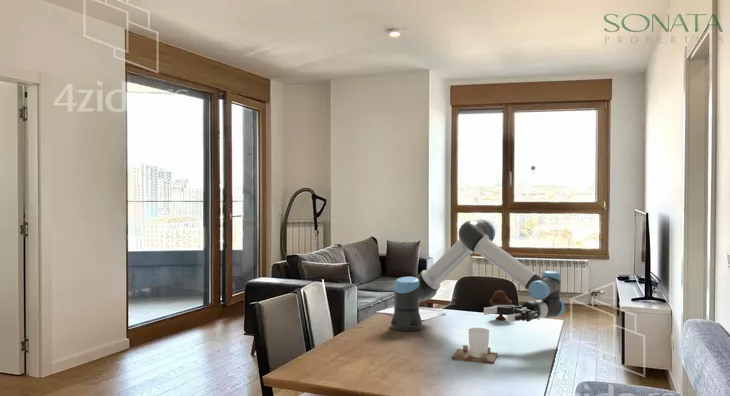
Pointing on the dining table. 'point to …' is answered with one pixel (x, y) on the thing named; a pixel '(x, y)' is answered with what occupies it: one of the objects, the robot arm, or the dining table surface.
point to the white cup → (478, 341)
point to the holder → (465, 356)
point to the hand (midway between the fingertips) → (495, 314)
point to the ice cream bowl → (500, 302)
